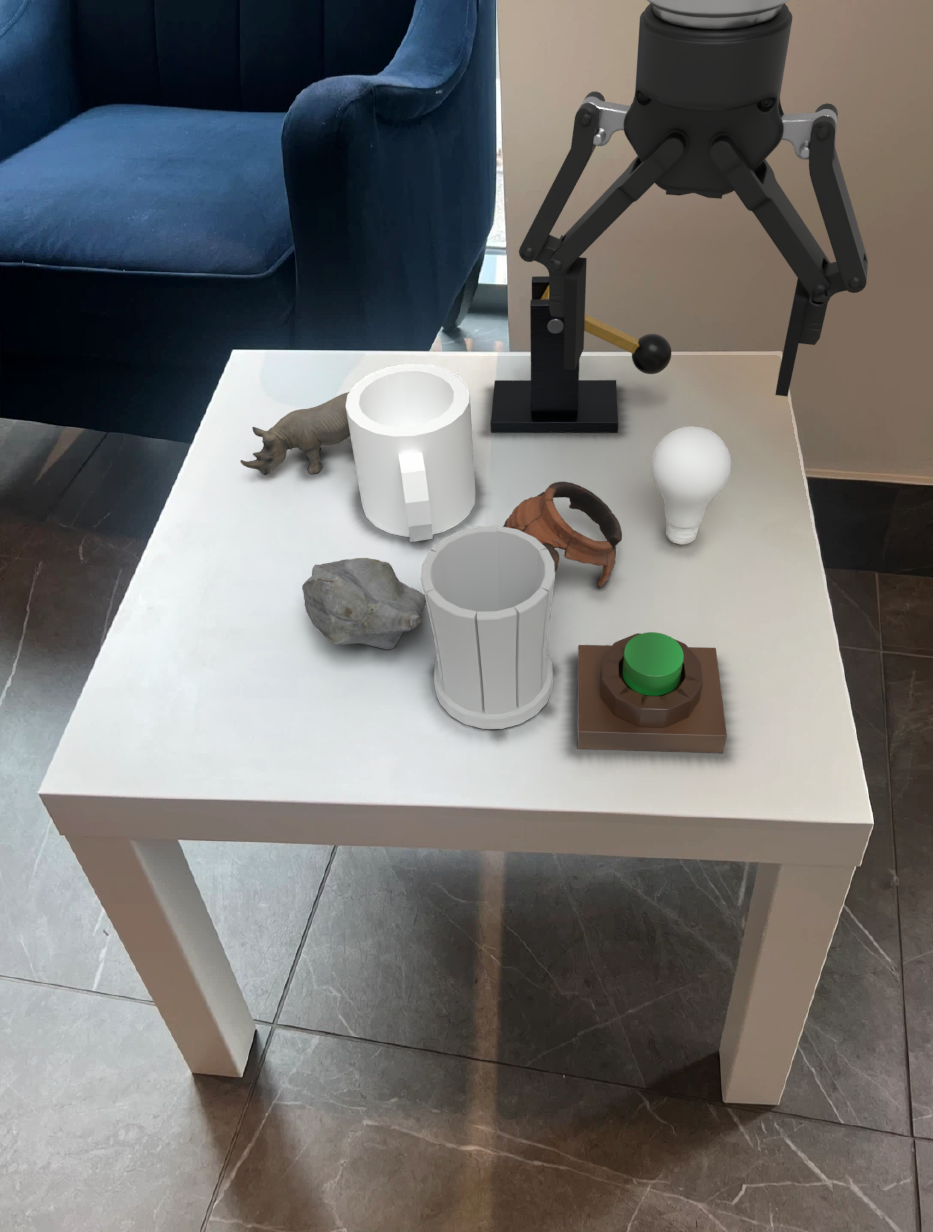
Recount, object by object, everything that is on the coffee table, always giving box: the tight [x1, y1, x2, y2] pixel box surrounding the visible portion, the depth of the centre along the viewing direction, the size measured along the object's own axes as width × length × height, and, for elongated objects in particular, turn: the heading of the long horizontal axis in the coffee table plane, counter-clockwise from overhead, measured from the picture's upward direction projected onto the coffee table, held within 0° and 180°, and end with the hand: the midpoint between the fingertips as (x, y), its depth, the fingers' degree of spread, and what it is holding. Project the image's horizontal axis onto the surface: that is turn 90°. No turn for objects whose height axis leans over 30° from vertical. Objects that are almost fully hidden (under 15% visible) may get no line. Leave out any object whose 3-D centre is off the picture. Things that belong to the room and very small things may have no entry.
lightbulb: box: [650, 425, 732, 545], centre depth 80 cm, size 6×6×11 cm
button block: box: [577, 632, 728, 754], centre depth 71 cm, size 10×8×4 cm
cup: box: [420, 525, 556, 730], centre depth 71 cm, size 10×9×12 cm
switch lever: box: [540, 286, 672, 375], centre depth 91 cm, size 13×4×4 cm, turn 85°
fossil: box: [301, 557, 427, 650], centre depth 76 cm, size 11×9×8 cm
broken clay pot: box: [502, 481, 623, 588], centre depth 80 cm, size 12×10×8 cm
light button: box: [622, 631, 684, 696], centre depth 69 cm, size 4×4×2 cm
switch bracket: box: [490, 275, 619, 434], centre depth 93 cm, size 12×7×13 cm, turn 86°
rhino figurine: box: [239, 391, 351, 477], centre depth 92 cm, size 4×14×6 cm, turn 118°
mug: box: [346, 363, 476, 543], centre depth 85 cm, size 14×10×11 cm
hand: (675, 371), depth 65 cm, fingers open, 13 cm apart
